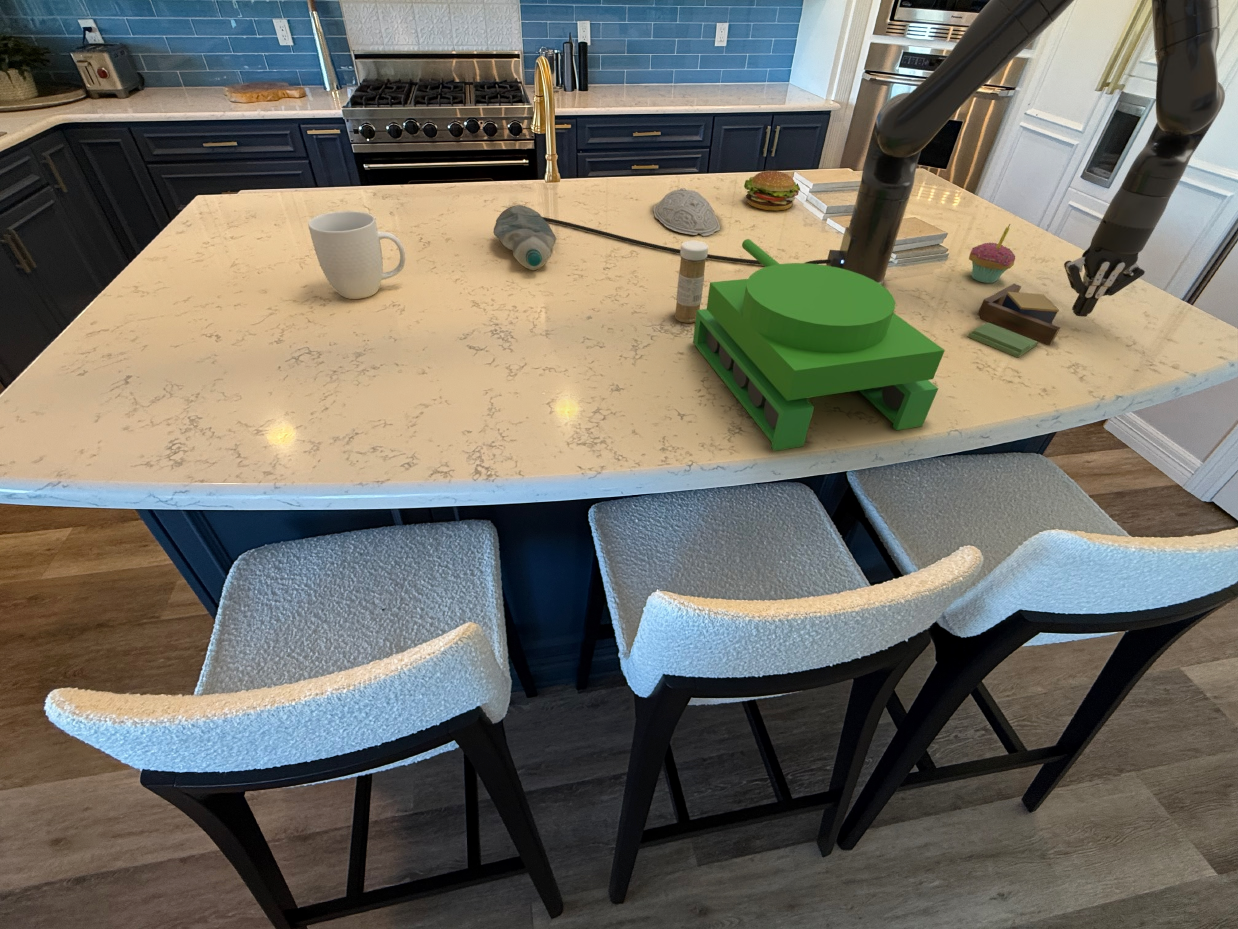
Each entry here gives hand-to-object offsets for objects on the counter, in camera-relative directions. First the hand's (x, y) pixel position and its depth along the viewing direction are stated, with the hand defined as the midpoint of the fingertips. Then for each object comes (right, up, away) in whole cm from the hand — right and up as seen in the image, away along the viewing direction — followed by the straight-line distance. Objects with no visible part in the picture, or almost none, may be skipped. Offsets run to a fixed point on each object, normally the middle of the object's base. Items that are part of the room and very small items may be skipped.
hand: (1079, 314), depth 116 cm
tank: (-58, -13, -16) cm, 61 cm away
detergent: (-104, +17, +18) cm, 107 cm away
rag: (-17, -6, -5) cm, 19 cm away
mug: (-132, +5, +2) cm, 132 cm away
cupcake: (-8, +11, +17) cm, 22 cm away
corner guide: (-12, 0, +2) cm, 12 cm away
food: (-45, +41, +50) cm, 79 cm away
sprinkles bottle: (-73, -1, -2) cm, 73 cm away
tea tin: (-9, -1, +2) cm, 9 cm away
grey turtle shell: (-68, +33, +39) cm, 85 cm away
